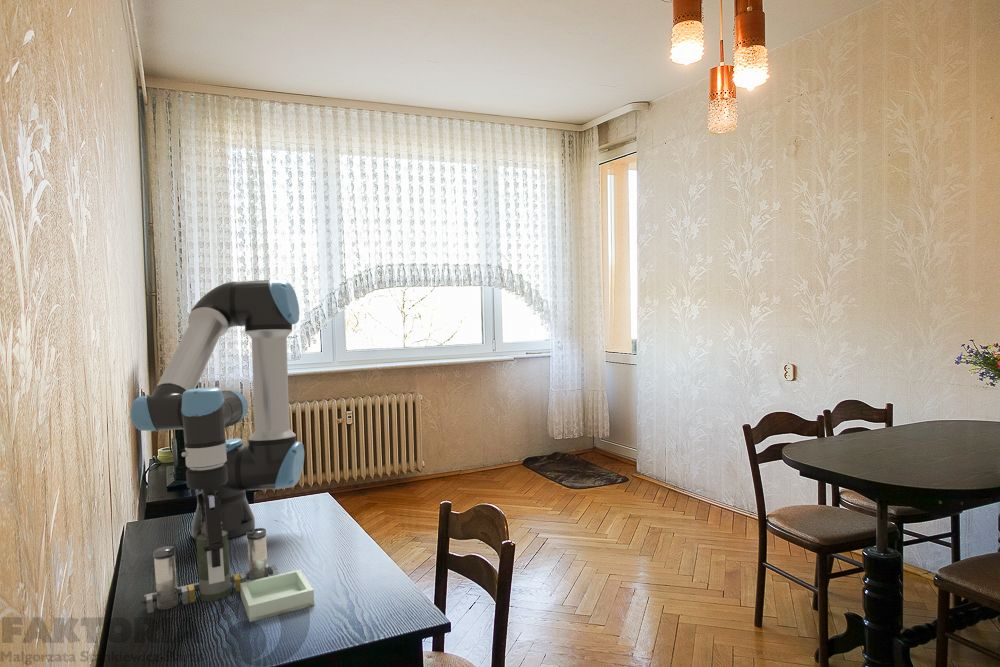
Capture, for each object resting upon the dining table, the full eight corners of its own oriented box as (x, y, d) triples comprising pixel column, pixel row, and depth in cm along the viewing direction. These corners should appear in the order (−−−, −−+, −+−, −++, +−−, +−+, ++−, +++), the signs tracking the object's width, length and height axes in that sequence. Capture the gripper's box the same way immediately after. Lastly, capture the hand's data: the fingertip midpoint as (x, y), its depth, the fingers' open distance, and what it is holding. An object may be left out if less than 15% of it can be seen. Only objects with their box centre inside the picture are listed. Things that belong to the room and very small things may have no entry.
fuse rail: (144, 599, 129) (140, 545, 129) (274, 569, 142) (271, 520, 141) (144, 614, 123) (140, 557, 122) (281, 581, 135) (278, 529, 135)
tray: (241, 598, 128) (240, 583, 128) (300, 583, 134) (300, 569, 134) (249, 622, 118) (248, 606, 118) (314, 605, 124) (313, 589, 124)
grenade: (238, 590, 132) (233, 518, 131) (211, 603, 126) (206, 527, 126) (218, 585, 135) (213, 514, 134) (191, 597, 130) (186, 523, 129)
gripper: (181, 457, 138) (188, 555, 139) (190, 482, 117) (197, 597, 117) (219, 452, 142) (225, 547, 143) (234, 475, 120) (241, 587, 121)
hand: (213, 570), depth 130 cm, fingers open, 13 cm apart
